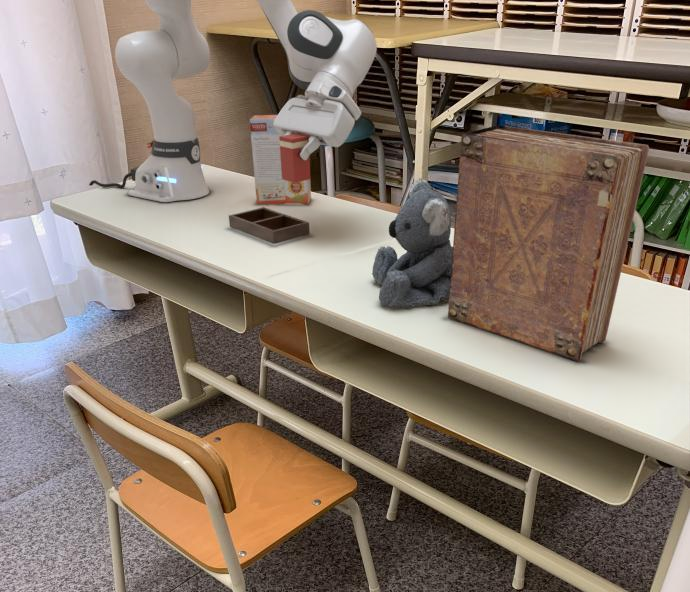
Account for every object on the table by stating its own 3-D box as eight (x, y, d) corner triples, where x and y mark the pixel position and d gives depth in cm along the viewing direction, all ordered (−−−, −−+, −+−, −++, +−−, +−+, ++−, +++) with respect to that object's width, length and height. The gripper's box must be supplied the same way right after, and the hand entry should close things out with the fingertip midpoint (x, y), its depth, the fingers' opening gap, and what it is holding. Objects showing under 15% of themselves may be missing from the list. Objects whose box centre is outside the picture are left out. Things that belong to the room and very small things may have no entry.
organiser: (229, 229, 166) (228, 215, 164) (264, 220, 171) (263, 207, 169) (274, 246, 155) (273, 231, 153) (309, 236, 160) (309, 222, 159)
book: (606, 343, 113) (651, 145, 95) (578, 362, 107) (621, 156, 90) (476, 302, 127) (495, 124, 110) (446, 318, 122) (461, 132, 104)
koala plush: (369, 277, 138) (370, 174, 127) (458, 274, 139) (466, 171, 128) (381, 312, 124) (383, 199, 113) (479, 307, 125) (491, 195, 114)
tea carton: (281, 179, 148) (278, 136, 143) (297, 175, 151) (295, 133, 146) (294, 182, 146) (292, 139, 141) (310, 179, 148) (308, 136, 143)
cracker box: (311, 199, 187) (308, 114, 175) (308, 205, 182) (304, 118, 170) (260, 198, 188) (254, 113, 176) (256, 204, 183) (248, 117, 171)
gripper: (287, 83, 149) (254, 139, 149) (350, 92, 136) (314, 153, 136) (304, 104, 154) (272, 158, 154) (367, 114, 141) (332, 173, 141)
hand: (292, 156), depth 145 cm, fingers closed on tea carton, 4 cm apart
